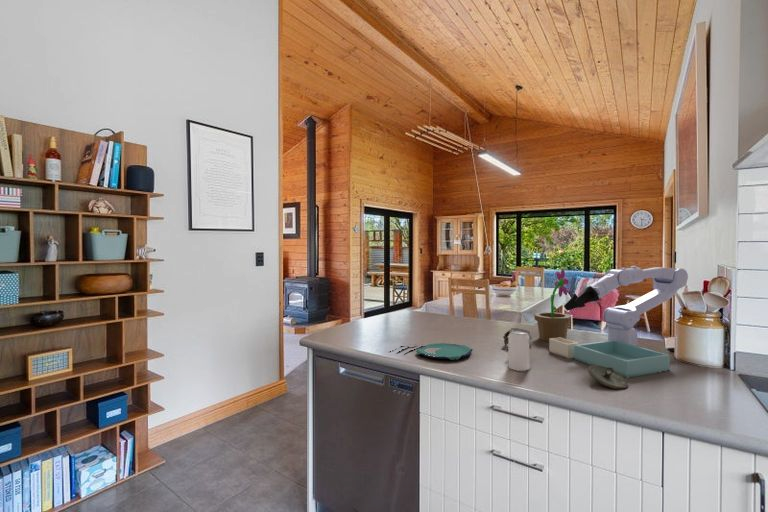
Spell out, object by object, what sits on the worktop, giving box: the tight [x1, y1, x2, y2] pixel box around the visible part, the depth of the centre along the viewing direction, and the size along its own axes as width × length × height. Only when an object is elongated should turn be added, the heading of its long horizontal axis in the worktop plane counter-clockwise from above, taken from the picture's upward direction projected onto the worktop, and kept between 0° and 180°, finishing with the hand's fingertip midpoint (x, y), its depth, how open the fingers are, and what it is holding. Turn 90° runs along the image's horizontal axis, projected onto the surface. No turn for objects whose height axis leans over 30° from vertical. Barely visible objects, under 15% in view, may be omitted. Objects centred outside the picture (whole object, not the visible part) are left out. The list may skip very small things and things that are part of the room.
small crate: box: [548, 337, 580, 359], centre depth 140 cm, size 5×9×5 cm, turn 18°
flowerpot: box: [533, 267, 572, 343], centre depth 161 cm, size 14×14×30 cm
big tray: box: [574, 340, 671, 379], centre depth 127 cm, size 18×20×5 cm
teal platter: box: [415, 342, 474, 361], centre depth 146 cm, size 20×30×2 cm, turn 56°
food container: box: [510, 327, 533, 347], centre depth 134 cm, size 12×6×10 cm, turn 168°
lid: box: [587, 365, 629, 390], centre depth 111 cm, size 11×10×5 cm
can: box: [507, 330, 530, 372], centre depth 125 cm, size 6×6×12 cm
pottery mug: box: [502, 329, 532, 350], centre depth 153 cm, size 12×10×8 cm
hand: (571, 305), depth 137 cm, fingers open, 7 cm apart
